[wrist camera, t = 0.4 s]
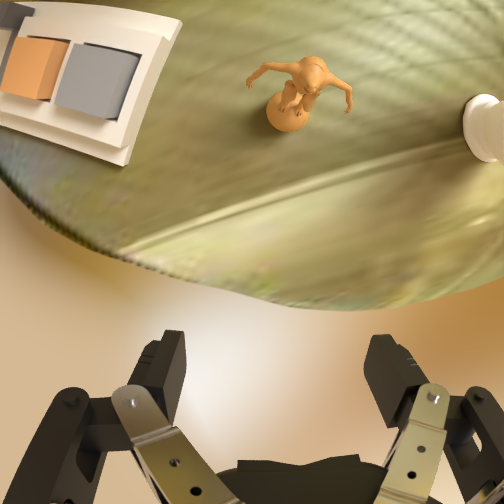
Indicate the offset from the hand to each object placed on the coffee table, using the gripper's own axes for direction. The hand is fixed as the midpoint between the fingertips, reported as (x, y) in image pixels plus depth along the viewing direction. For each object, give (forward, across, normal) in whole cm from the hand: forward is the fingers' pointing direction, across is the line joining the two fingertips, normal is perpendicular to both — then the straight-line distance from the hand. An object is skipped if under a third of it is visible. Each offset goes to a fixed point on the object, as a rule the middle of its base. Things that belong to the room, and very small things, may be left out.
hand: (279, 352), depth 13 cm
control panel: (+20, +24, -18) cm, 36 cm away
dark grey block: (+17, +29, -26) cm, 43 cm away
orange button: (+17, +24, -18) cm, 34 cm away
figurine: (+21, -2, -13) cm, 25 cm away
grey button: (+17, +16, -15) cm, 28 cm away
